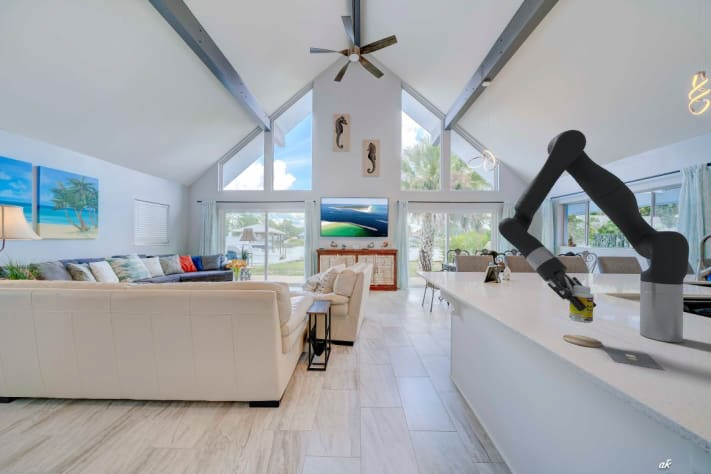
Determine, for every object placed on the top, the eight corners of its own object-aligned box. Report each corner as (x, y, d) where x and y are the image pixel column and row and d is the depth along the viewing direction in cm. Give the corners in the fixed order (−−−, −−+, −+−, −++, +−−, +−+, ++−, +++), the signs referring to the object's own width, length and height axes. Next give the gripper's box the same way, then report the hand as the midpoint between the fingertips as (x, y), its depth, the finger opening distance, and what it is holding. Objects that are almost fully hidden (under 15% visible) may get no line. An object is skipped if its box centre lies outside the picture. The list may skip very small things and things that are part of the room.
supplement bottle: (588, 324, 82) (589, 288, 81) (565, 319, 86) (566, 285, 86) (596, 321, 85) (596, 287, 85) (573, 317, 89) (574, 284, 89)
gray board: (603, 348, 81) (603, 346, 81) (647, 355, 76) (647, 353, 76) (614, 362, 71) (614, 361, 71) (665, 371, 67) (665, 369, 67)
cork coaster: (561, 334, 91) (561, 332, 91) (598, 339, 87) (598, 337, 87) (565, 343, 84) (565, 341, 84) (605, 349, 79) (605, 347, 79)
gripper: (542, 256, 88) (588, 303, 78) (566, 256, 95) (610, 299, 85) (524, 271, 93) (565, 318, 82) (548, 270, 100) (588, 312, 90)
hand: (588, 308), depth 84 cm, fingers closed on supplement bottle, 5 cm apart
